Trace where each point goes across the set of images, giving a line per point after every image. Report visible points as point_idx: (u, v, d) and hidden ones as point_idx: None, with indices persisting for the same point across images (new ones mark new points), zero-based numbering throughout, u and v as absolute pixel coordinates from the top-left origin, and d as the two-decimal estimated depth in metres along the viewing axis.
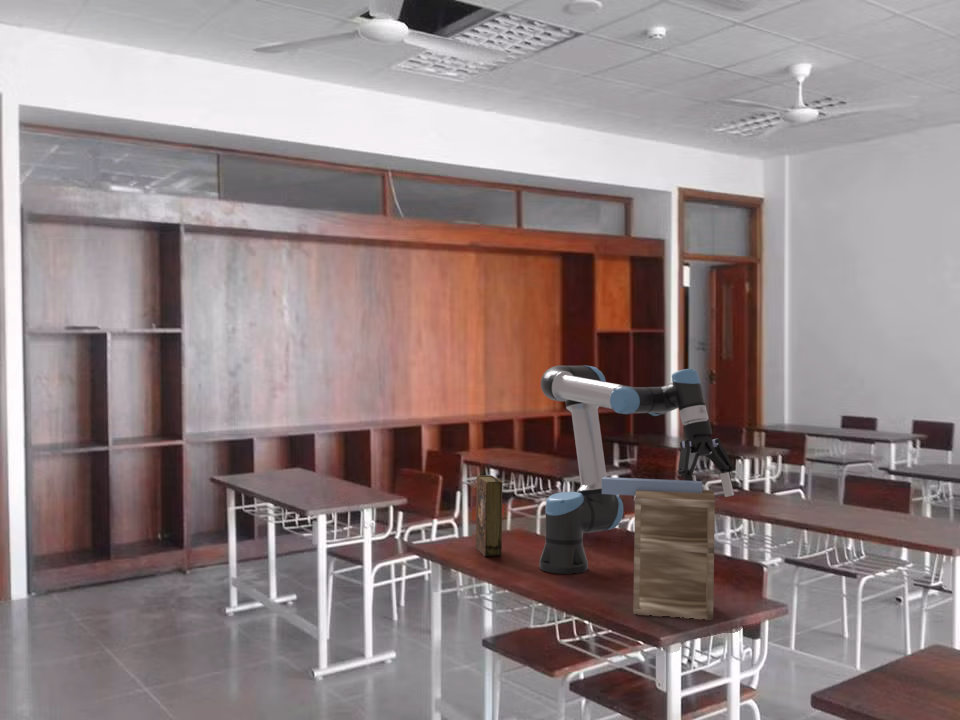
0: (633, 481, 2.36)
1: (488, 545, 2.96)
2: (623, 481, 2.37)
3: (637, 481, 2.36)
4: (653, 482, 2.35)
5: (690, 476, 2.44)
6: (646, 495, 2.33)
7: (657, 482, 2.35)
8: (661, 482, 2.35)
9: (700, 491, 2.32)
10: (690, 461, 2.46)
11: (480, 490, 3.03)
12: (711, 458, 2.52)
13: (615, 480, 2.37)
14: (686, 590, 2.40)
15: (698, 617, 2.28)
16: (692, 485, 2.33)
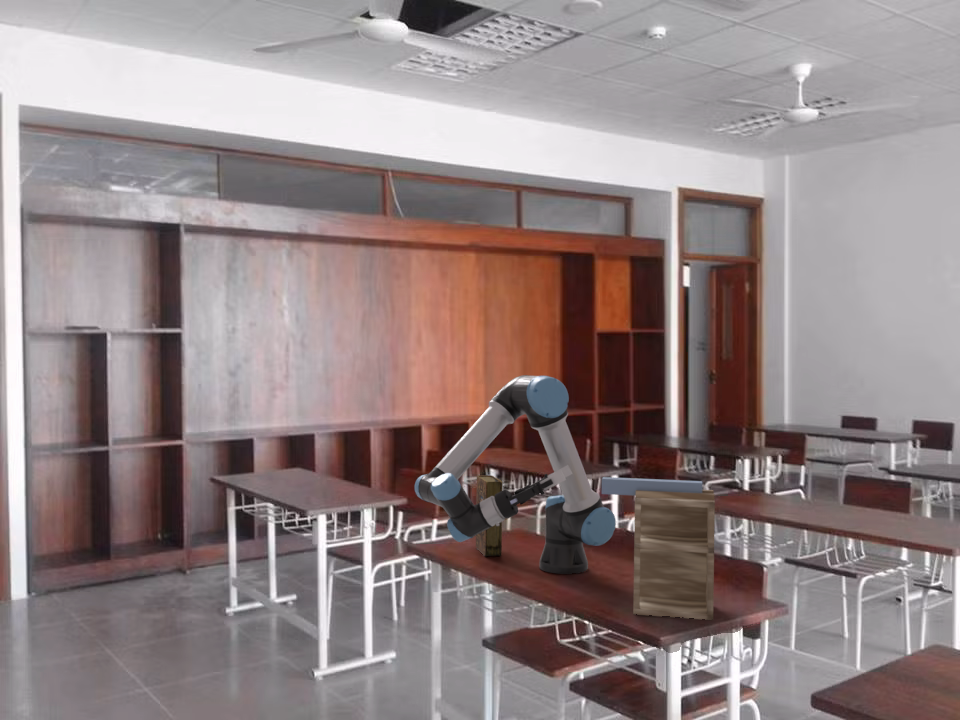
0: (633, 481, 2.36)
1: (488, 545, 2.96)
2: (623, 481, 2.37)
3: (637, 481, 2.36)
4: (653, 482, 2.35)
5: None
6: (646, 495, 2.33)
7: (657, 482, 2.35)
8: (661, 482, 2.35)
9: (700, 491, 2.32)
10: None
11: (480, 490, 3.03)
12: None
13: (615, 480, 2.37)
14: (686, 590, 2.40)
15: (698, 617, 2.28)
16: (692, 485, 2.33)
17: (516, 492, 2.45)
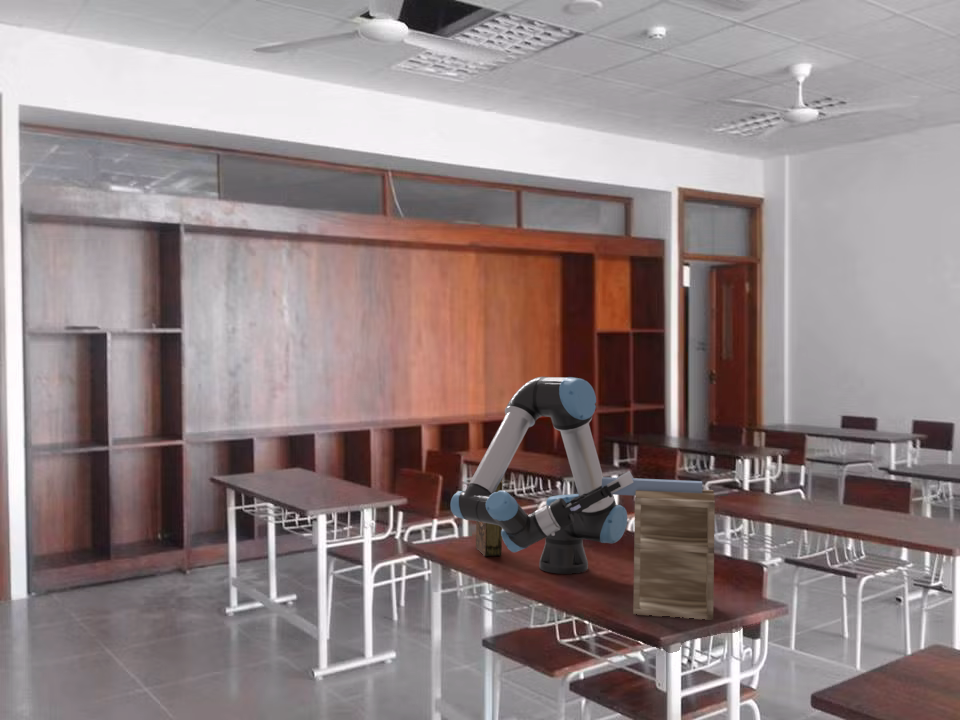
0: (633, 481, 2.36)
1: (488, 545, 2.96)
2: None
3: (637, 481, 2.36)
4: (653, 482, 2.35)
5: None
6: (646, 495, 2.33)
7: (657, 482, 2.35)
8: (661, 482, 2.35)
9: (700, 491, 2.32)
10: None
11: None
12: None
13: None
14: (686, 590, 2.40)
15: (698, 617, 2.28)
16: (692, 485, 2.33)
17: (574, 500, 2.40)
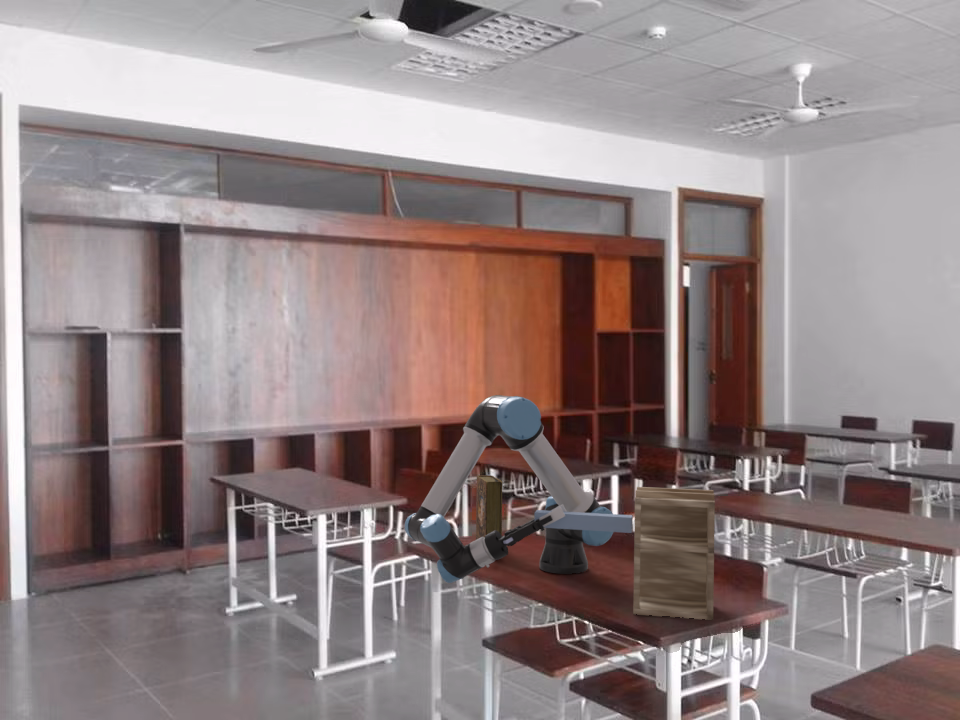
0: (565, 515, 2.40)
1: None
2: None
3: (569, 515, 2.40)
4: (584, 516, 2.39)
5: None
6: (646, 495, 2.33)
7: (588, 516, 2.39)
8: (592, 516, 2.39)
9: (629, 525, 2.36)
10: None
11: (480, 490, 3.03)
12: None
13: (547, 513, 2.41)
14: (686, 590, 2.40)
15: (698, 617, 2.28)
16: (622, 520, 2.37)
17: (507, 533, 2.44)
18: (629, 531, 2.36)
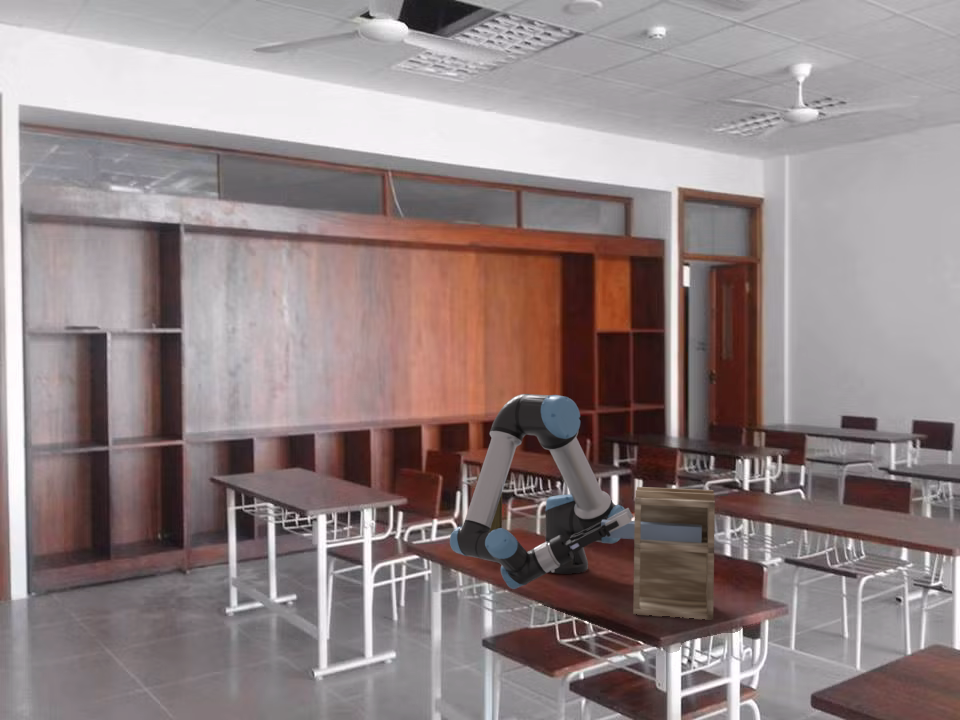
0: (632, 524, 2.36)
1: None
2: None
3: None
4: (652, 526, 2.35)
5: None
6: (646, 495, 2.33)
7: (656, 526, 2.35)
8: (660, 526, 2.35)
9: (699, 535, 2.32)
10: None
11: None
12: None
13: None
14: (686, 590, 2.40)
15: (698, 617, 2.28)
16: (691, 529, 2.33)
17: (573, 538, 2.40)
18: (699, 541, 2.33)
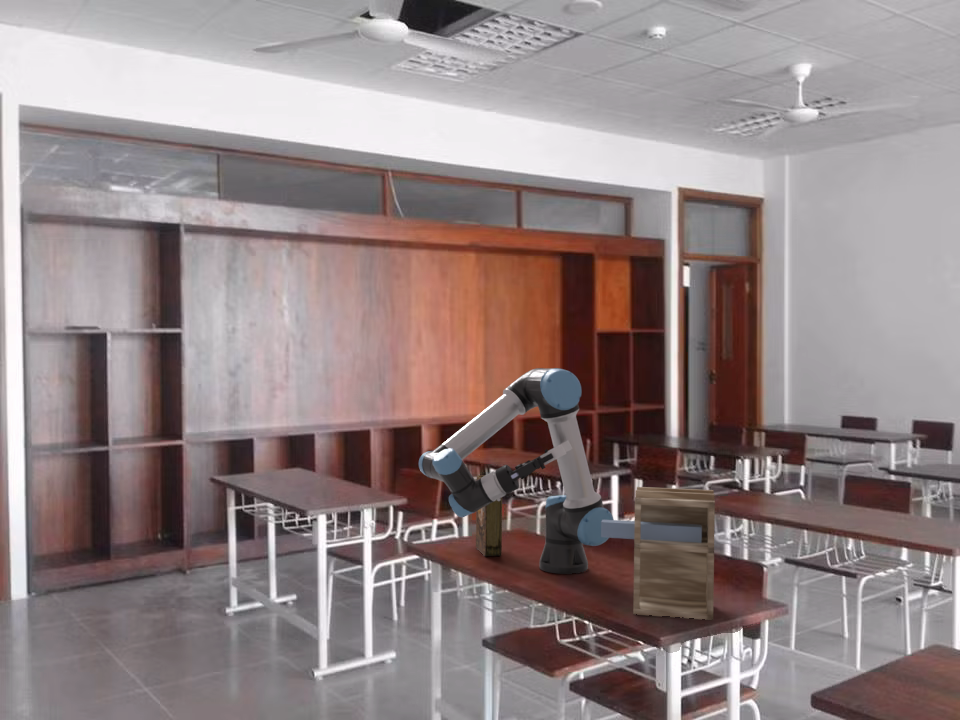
0: (632, 524, 2.36)
1: (488, 545, 2.96)
2: (622, 524, 2.37)
3: None
4: (652, 526, 2.35)
5: None
6: (646, 495, 2.33)
7: (656, 526, 2.35)
8: (660, 526, 2.35)
9: (699, 535, 2.32)
10: None
11: None
12: None
13: (614, 523, 2.37)
14: (686, 590, 2.40)
15: (698, 617, 2.28)
16: (691, 529, 2.33)
17: (517, 467, 2.47)
18: (699, 541, 2.33)
